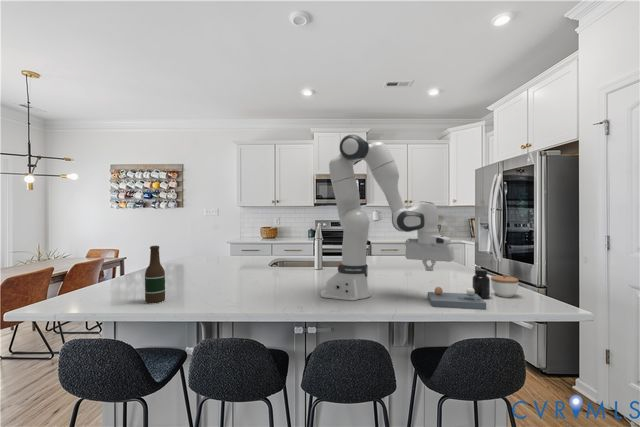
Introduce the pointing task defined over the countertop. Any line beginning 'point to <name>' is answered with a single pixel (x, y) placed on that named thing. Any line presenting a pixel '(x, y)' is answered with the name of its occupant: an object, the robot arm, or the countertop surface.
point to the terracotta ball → (438, 290)
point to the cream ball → (470, 291)
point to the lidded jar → (504, 285)
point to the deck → (456, 300)
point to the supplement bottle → (481, 283)
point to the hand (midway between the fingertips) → (429, 270)
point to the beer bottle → (154, 278)
